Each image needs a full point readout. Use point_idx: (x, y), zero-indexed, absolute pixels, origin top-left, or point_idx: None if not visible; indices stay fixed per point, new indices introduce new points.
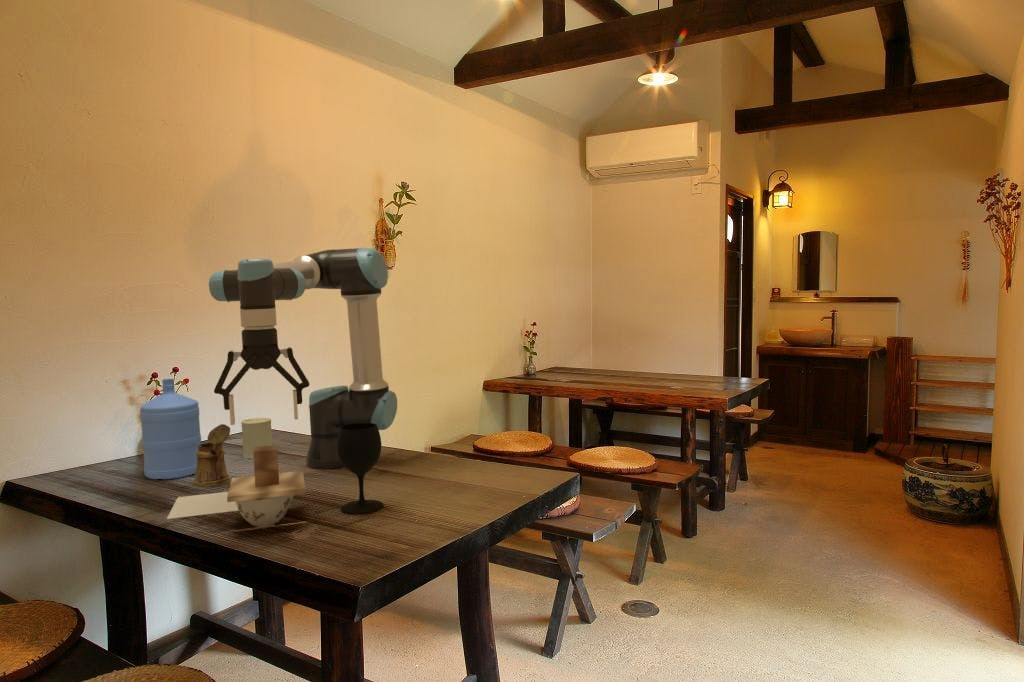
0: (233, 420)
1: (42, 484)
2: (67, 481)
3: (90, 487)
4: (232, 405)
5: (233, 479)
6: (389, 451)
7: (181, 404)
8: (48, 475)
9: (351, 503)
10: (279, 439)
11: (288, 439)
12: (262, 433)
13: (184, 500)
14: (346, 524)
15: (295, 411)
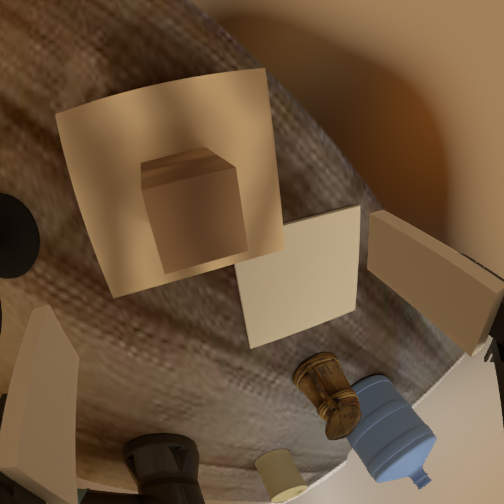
0: (386, 222)
1: (453, 345)
2: (439, 355)
3: (428, 343)
4: (449, 260)
5: (280, 234)
6: (97, 477)
7: (400, 462)
8: (446, 366)
9: (22, 252)
10: (257, 490)
11: (247, 492)
12: (275, 480)
13: (345, 295)
14: (5, 132)
15: (32, 339)
